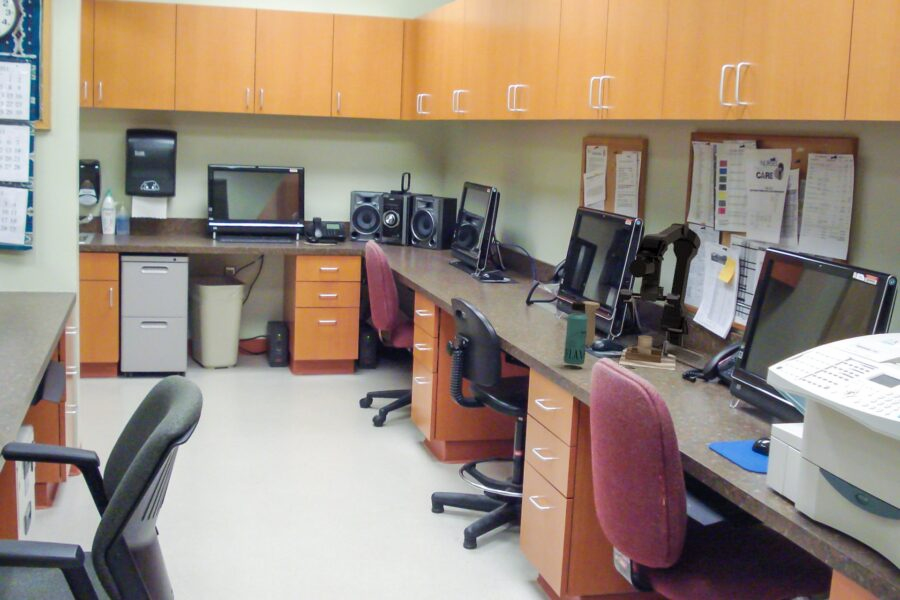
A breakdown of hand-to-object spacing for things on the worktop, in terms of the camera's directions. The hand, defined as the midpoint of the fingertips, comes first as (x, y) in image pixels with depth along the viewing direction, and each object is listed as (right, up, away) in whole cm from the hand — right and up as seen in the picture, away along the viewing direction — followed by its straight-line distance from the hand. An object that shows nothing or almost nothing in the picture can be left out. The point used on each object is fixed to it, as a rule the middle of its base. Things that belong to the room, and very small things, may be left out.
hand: (646, 323), depth 311 cm
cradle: (0, -12, -1) cm, 12 cm away
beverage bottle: (-25, -13, -14) cm, 31 cm away
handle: (-16, -8, +17) cm, 25 cm away
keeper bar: (+11, -12, -3) cm, 16 cm away
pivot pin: (-1, -11, +2) cm, 11 cm away
